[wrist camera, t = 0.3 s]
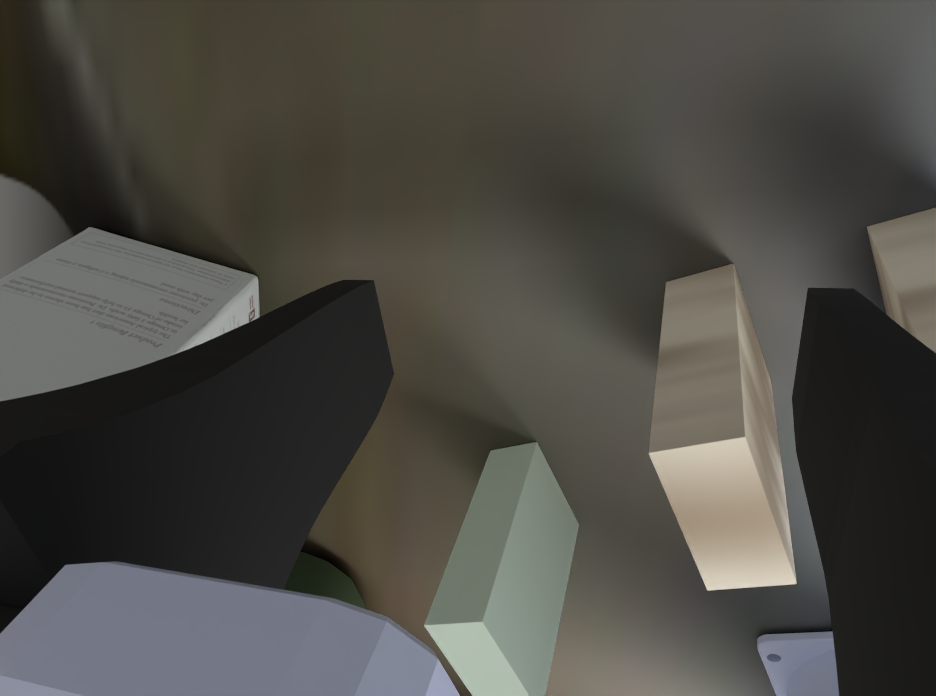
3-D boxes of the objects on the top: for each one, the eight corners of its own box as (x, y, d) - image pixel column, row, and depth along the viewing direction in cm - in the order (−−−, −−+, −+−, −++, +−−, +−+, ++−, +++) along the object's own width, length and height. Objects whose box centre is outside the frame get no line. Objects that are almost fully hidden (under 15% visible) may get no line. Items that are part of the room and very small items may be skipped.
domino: (771, 382, 22) (796, 583, 16) (707, 394, 23) (707, 590, 17) (733, 263, 21) (745, 436, 14) (666, 282, 21) (648, 453, 15)
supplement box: (115, 370, 31) (-172, 608, 21) (89, 219, 27) (-289, 428, 16) (267, 422, 30) (43, 697, 20) (267, 274, 26) (-20, 531, 16)
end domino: (579, 525, 28) (541, 714, 22) (533, 530, 29) (484, 714, 23) (536, 441, 26) (482, 621, 20) (490, 450, 27) (423, 625, 21)
